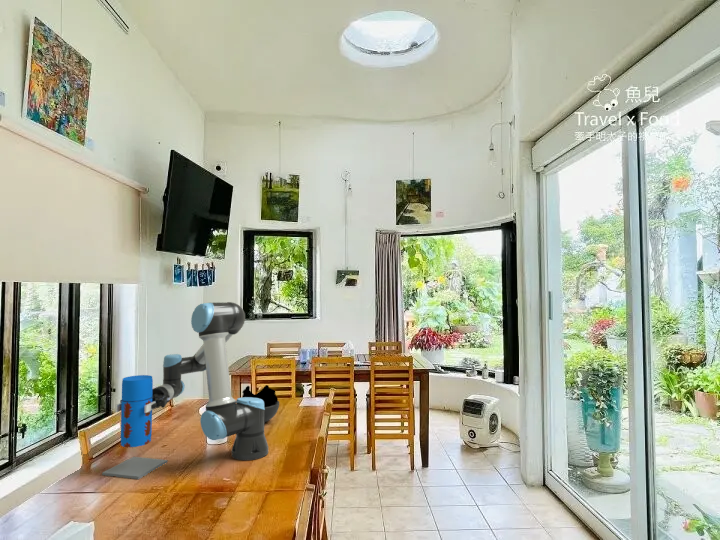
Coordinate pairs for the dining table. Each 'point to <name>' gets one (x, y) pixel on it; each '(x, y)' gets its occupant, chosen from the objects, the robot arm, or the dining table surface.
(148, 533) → the dining table surface
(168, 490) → the dining table surface
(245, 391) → the coal bowl
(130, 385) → the thermos
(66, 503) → the dining table surface
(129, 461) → the slate tile
